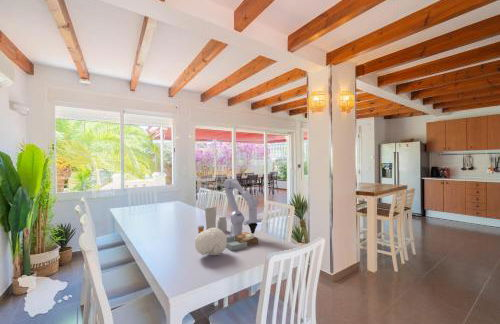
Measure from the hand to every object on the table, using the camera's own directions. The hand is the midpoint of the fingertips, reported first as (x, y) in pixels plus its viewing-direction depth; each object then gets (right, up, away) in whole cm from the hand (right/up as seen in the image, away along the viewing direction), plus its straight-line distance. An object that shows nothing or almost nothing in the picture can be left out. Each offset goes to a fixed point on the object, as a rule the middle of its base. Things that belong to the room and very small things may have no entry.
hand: (252, 233), depth 173 cm
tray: (-13, -5, -13) cm, 19 cm away
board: (-5, -5, -6) cm, 9 cm away
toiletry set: (-32, -5, +14) cm, 35 cm away
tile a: (-5, -1, -4) cm, 7 cm away
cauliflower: (-25, -5, -30) cm, 40 cm away
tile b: (-2, -1, -8) cm, 9 cm away
